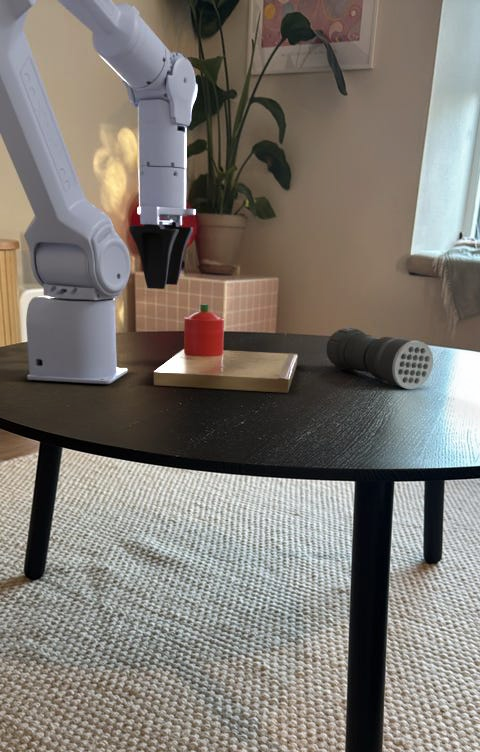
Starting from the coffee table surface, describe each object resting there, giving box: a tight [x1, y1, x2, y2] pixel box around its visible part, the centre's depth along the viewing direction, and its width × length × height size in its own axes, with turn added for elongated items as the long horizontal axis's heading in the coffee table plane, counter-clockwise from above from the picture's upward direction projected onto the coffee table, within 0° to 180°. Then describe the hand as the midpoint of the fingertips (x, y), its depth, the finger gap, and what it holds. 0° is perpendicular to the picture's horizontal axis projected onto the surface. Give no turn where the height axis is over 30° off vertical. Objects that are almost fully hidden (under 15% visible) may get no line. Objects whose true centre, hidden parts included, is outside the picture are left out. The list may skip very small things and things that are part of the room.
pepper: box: [183, 303, 225, 356], centre depth 95 cm, size 5×5×6 cm
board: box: [153, 348, 298, 394], centre depth 91 cm, size 15×18×2 cm
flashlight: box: [326, 327, 434, 390], centre depth 92 cm, size 15×5×5 cm, turn 26°
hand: (162, 286), depth 96 cm, fingers open, 7 cm apart
